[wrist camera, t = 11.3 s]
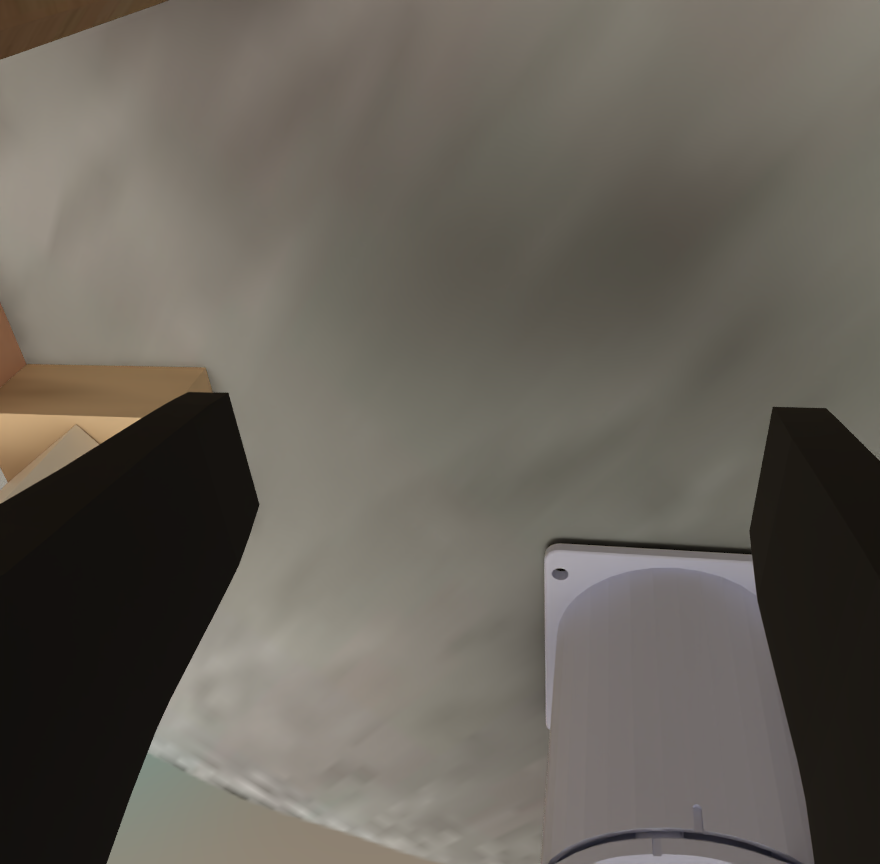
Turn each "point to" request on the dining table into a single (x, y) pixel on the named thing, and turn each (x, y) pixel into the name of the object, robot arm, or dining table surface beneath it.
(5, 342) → the terracotta cube
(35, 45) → the decorative block
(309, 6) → the dining table surface
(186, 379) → the oak block
